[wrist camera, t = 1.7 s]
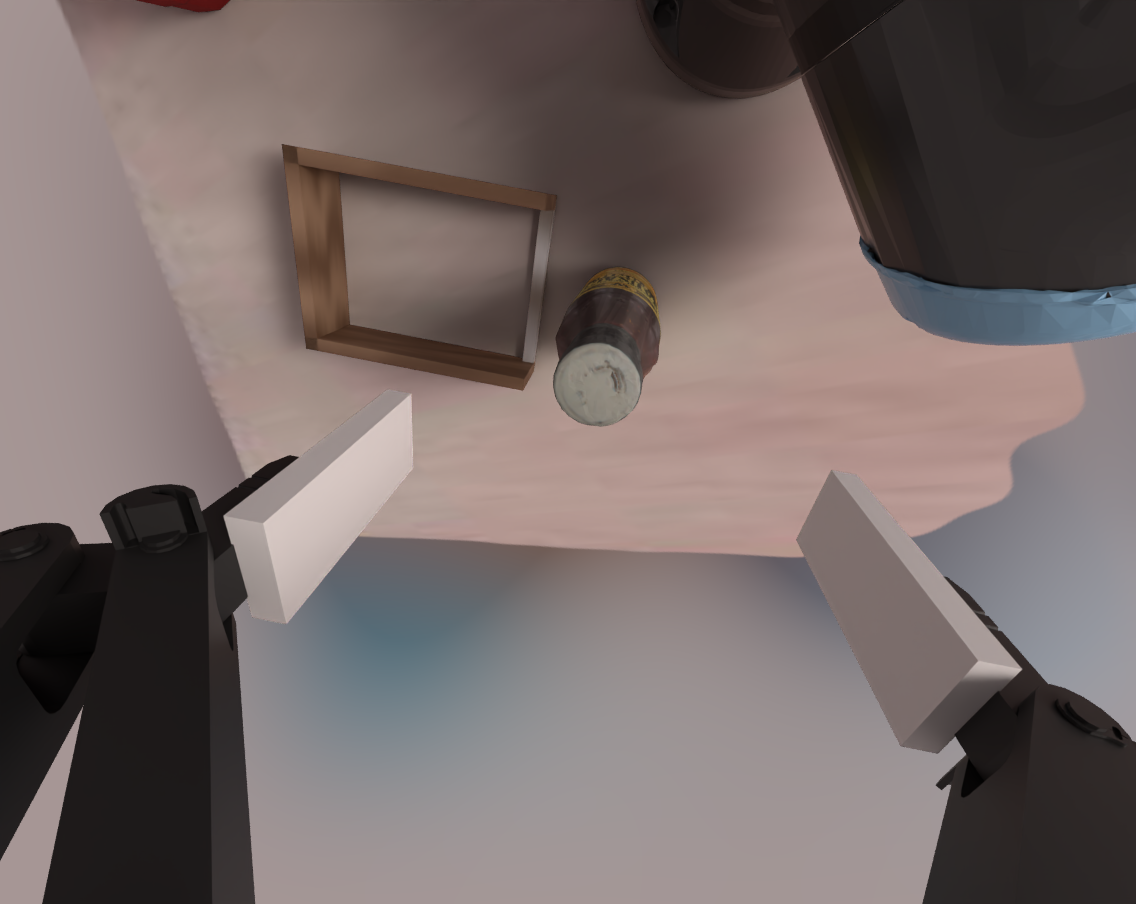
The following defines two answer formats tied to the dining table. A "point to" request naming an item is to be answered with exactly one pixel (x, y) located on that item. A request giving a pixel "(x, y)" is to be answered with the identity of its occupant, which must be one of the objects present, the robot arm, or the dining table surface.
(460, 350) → the frame
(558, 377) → the sauce bottle
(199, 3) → the plastic cup
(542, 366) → the dining table surface
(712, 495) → the dining table surface
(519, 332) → the dining table surface
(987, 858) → the robot arm
